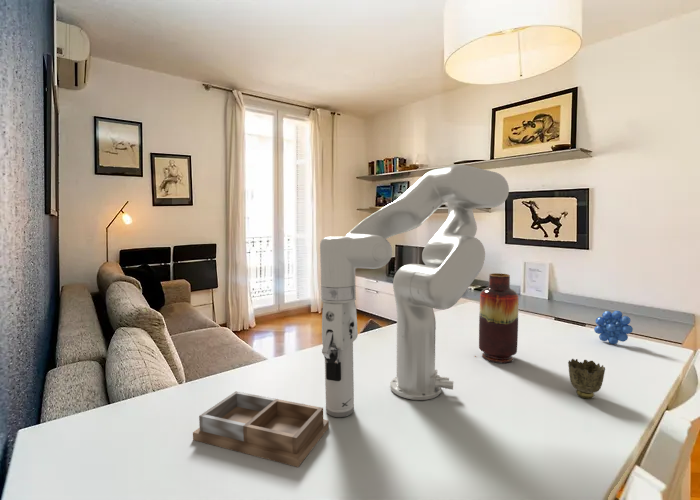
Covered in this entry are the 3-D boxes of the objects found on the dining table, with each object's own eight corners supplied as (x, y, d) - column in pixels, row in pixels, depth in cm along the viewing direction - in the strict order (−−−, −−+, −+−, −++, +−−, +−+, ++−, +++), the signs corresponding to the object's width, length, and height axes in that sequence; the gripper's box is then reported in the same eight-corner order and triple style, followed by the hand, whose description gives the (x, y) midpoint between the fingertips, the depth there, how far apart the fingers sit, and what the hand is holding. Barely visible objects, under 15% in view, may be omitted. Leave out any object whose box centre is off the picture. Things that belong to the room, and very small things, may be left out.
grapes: (638, 347, 122) (640, 311, 121) (627, 350, 119) (629, 314, 118) (600, 337, 132) (602, 305, 131) (590, 340, 129) (591, 307, 128)
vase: (499, 367, 105) (502, 278, 103) (470, 355, 115) (472, 273, 113) (525, 360, 110) (527, 275, 109) (495, 349, 120) (497, 271, 118)
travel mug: (352, 419, 77) (351, 327, 76) (322, 416, 79) (320, 325, 77) (357, 404, 83) (356, 319, 82) (329, 402, 85) (328, 318, 83)
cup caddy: (328, 427, 74) (328, 406, 74) (298, 467, 62) (297, 442, 62) (236, 408, 82) (235, 388, 82) (193, 439, 70) (192, 417, 70)
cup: (598, 392, 90) (599, 360, 89) (608, 406, 83) (610, 372, 82) (563, 387, 92) (564, 356, 91) (571, 401, 85) (572, 367, 85)
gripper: (339, 302, 69) (341, 393, 71) (367, 287, 86) (368, 361, 87) (304, 300, 72) (306, 387, 74) (337, 285, 88) (339, 357, 90)
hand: (339, 372), depth 80 cm, fingers closed on travel mug, 6 cm apart
